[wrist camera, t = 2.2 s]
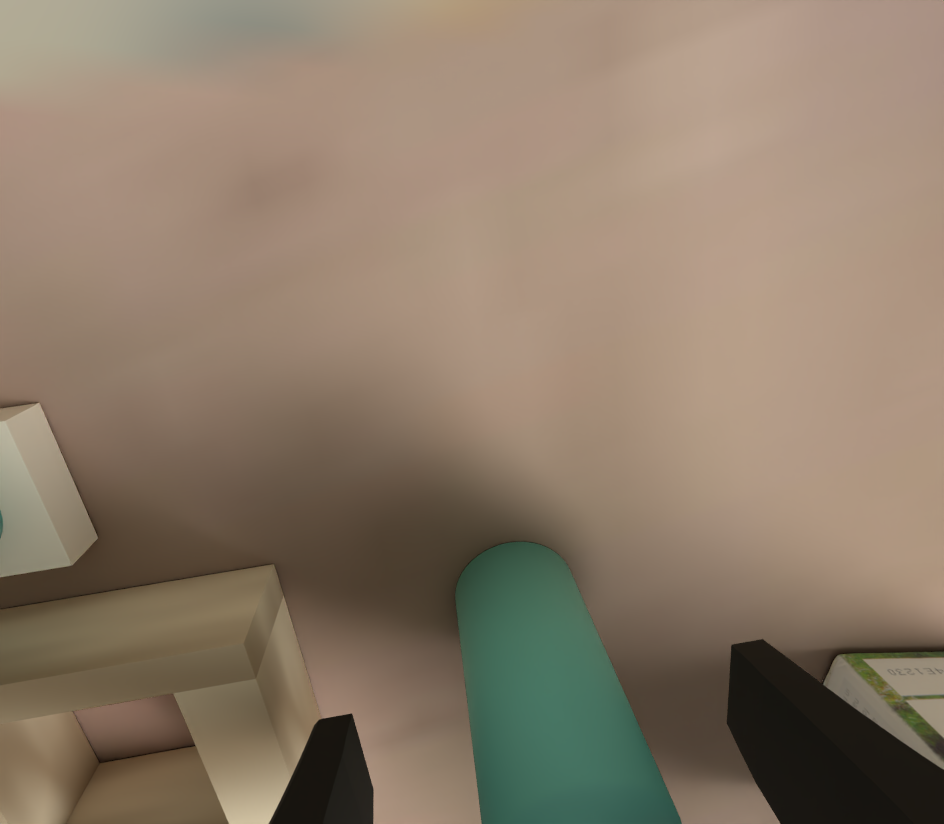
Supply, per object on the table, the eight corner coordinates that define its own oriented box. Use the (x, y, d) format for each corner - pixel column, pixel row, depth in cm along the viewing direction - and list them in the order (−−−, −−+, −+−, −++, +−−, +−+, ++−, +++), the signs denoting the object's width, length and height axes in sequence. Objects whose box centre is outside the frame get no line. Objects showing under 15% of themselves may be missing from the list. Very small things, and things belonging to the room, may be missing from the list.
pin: (576, 628, 14) (681, 895, 9) (463, 649, 14) (499, 934, 9) (569, 532, 13) (684, 766, 8) (446, 553, 13) (474, 807, 8)
